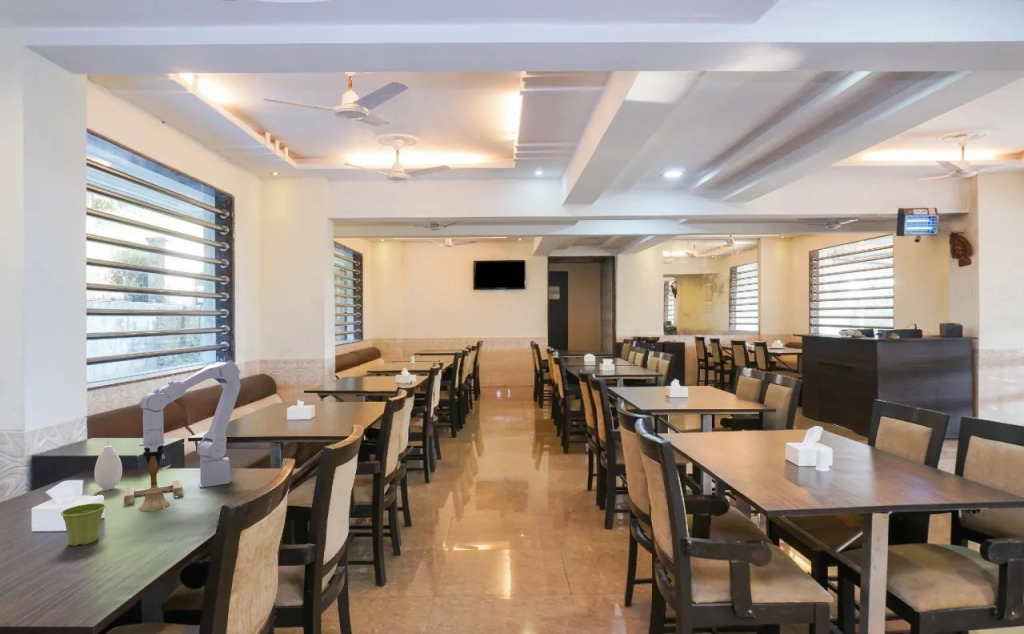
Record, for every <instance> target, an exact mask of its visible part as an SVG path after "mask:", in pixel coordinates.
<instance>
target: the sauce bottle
mask: <svg viewBox="0 0 1024 634" xmlns="http://www.w3.org/2000/svg"><path fill="white" fill-rule="evenodd" d="M93 475H94V480H95V482H96V485H97V486H98V487H99V488H101V490H104V491H106V490H107V491H110V490H109V489H112V490H113V489H114V488H116V486H118V485H119V484H120V482H121V480H122V475H123V465H122V460H121V458H120V456H119V454H118V452H117V451H116V450H115V448H114V446H113V445H110V440H109V438H108V439H107V445H105V446H104V447H103V449H102V450H101V452H100V454H99V455H98V457H97V459H96V463H95V466H94V474H93Z"/></svg>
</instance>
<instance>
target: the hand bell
mask: <svg viewBox="0 0 1024 634" xmlns="http://www.w3.org/2000/svg"><path fill="white" fill-rule="evenodd" d="M147 467H148V468H147V470H148V473H149V476H150V487H149V488H150V489H149V490H147V491H146V494H145V495H144V500H143V502H142V504H140V506H139V507H138V509H139V510H141V511H140V512H151V511H150V510H154V511H157V510H156V509H159V510H161V508H163V507H165V508H167V507H166V506H168V505H169V504H171V503H170V502H169V501H167V499H166V498H165V496H164V492H163V490H162V488H158V487H159V486H158V478H157V477H158V475H157V474H158V472H159V469H158V462H157V460H156V457H155V456H152V457H151V458H150V461H149V465H148V464H147ZM169 506H170V505H169ZM169 506H168V507H169ZM163 509H164V508H163ZM139 510H138V511H139Z"/></svg>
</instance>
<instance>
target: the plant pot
mask: <svg viewBox="0 0 1024 634" xmlns="http://www.w3.org/2000/svg"><path fill="white" fill-rule="evenodd" d="M106 506H107V505H106V504H105V503H101V502H100V503H98V502H97V503H96V502H94V503H92V502H91V503H85V504H81V505H75V506H72V507H71V506H70V507H68V508H66V509H64V510H62V511H60V516H62V519H63V520H64V523H65V524H64V525H65V529H66V534H67V543H68V545H70V546H75V547H76V546H78V545H88V544H91V543H94V542H96V541H97V540H98V539H99V535H100V529H101V521H102V517H103V513H104V509H106V508H107V507H106Z"/></svg>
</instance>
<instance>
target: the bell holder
mask: <svg viewBox="0 0 1024 634" xmlns="http://www.w3.org/2000/svg"><path fill="white" fill-rule="evenodd" d="M135 487H136V486H130V487H125V490H124V496H123V502H124V503H123V506H124V505H125V506H128V505H127V504H131V505H134V503H135V498H134V497H139V496H138V495H141V496H145V495H144V494H146V491H147V490H149V489H150V488H151V487H148V488H141V489H136V488H135ZM157 487H158V488H162V490H163V491H167V492H169V491H168V490H173V491H172V493H173V494H174V495H173V498H174V497H175V496H181V497H183V496H184V495H183V483H182V480H181V479H179V480H173V481H172V484H169V485H168V484H166V485H161V486H157ZM175 498H176V497H175Z"/></svg>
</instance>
